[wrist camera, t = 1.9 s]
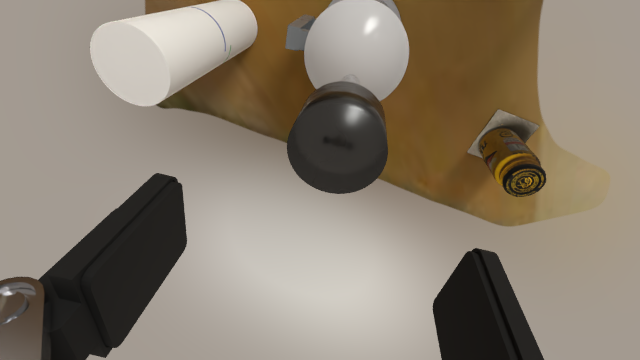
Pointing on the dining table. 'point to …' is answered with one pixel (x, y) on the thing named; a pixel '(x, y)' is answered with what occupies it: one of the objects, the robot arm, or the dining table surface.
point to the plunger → (339, 138)
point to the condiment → (510, 154)
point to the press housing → (353, 44)
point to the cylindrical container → (169, 48)
